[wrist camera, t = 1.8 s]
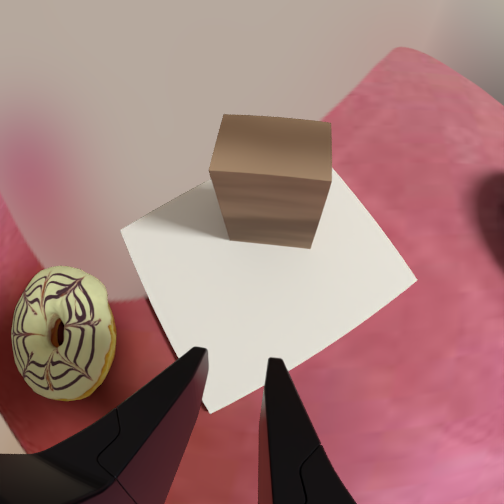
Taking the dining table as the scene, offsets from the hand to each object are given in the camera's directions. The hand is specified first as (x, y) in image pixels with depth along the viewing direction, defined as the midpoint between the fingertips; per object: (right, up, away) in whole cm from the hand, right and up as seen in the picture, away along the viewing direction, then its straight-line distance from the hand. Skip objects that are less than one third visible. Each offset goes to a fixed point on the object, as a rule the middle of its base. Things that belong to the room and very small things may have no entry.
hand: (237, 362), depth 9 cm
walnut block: (+2, +6, +15) cm, 16 cm away
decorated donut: (-14, -4, +13) cm, 20 cm away
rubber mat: (+1, +3, +14) cm, 15 cm away
